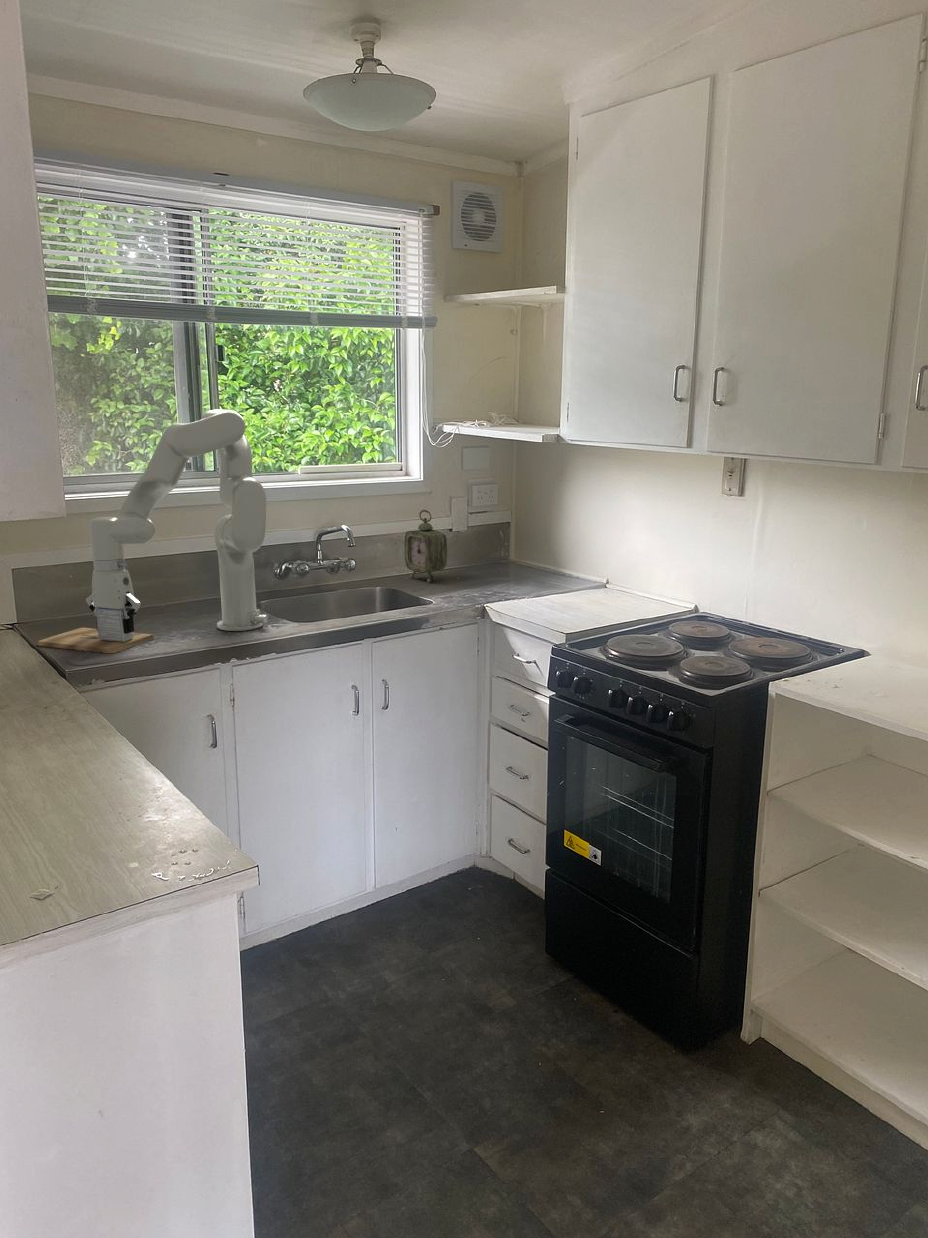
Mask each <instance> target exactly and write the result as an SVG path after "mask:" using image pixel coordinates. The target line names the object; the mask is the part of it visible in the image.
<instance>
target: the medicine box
mask: <svg viewBox="0 0 928 1238" xmlns="http://www.w3.org/2000/svg"><path fill="white" fill-rule="evenodd" d="M126 611H127V613H128V609H126ZM96 618H97V624H96V628H97V627H98V637H99V640H108V641H119V642H125V641H128V640H130V639H133V638H134V636H133V633H134V631H133V632H131V633H128V634H125V633H124V627H123V619H124V618H125V617H124V616H123V613H122V610H116V609H105V608H96V616H95V619H96Z"/></svg>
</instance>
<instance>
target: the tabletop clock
mask: <svg viewBox="0 0 928 1238" xmlns="http://www.w3.org/2000/svg"><path fill="white" fill-rule="evenodd" d="M424 512H425V513H427V514H428V515H429V519H428V518H427V517H424V518H423V517H422V513H424ZM418 515H419V519H420V520H421V521H422V523H420V524H419V525H418V528H417V529H415V530H414V529H413V530H408V531H406V532H405V536H404V561H405V567H406V568H407V569H409V570H411V571H412V572H413V573H411V574H409V578H410V579H415V574H416V573H421V574H423V573H428V578H427V579H426V582H427V584H430V583H432V581H433V579H434V575H433V574H432V572H439V571H442V570H444V569H445V568H446V567H447V565H448V563H447V562H448V540H447V536H446V535H445V534H444V533H442V532H441V531H439V530H436V529H434V528H433V526H432V524H431V523H430V522H431V520H432V513H431V512H430V511H429V510H427V509H422V510H420V512H419V514H418Z"/></svg>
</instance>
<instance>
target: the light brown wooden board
mask: <svg viewBox="0 0 928 1238" xmlns="http://www.w3.org/2000/svg"><path fill="white" fill-rule="evenodd" d="M133 636H134V638H133V639H130V640H128V641H125V642H119V641H108V640H99V637H98V631H97V628H92V627H84V626H83V627H79V628H74V629H72V630H68V631H66V632H62V633H59V634H56V635H52V636H50V637H46V638H43V639H41V640H37V646H39V647H46V648H55V649H65V650H73V649H74V650H75V651H82V650H83V651H82V652H91V651H93V653H100V652H103V653H102V654H109V653H114V654H116V652H117V653H119V652H122V651H125V650H128V649H130V648H133V647H135V646H138V645H141V644H144V643H147V642H149V641H152V640H154V638H155V637H154V634H151V633H150V634H149V633H141V632H133ZM118 651H119V652H118Z"/></svg>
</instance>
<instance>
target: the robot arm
mask: <svg viewBox="0 0 928 1238" xmlns="http://www.w3.org/2000/svg"><path fill="white" fill-rule="evenodd" d="M245 432H246V422H245V420H244V418H243V416H242V415H240V413H238V412H236V411H234V410H231V409H211V410H208V411H206V412H205V413H204V414H203V415H202V417H201V419H200V420H196V421H193V422H190V423H189V422H188V423H179V422H177V423H173V424H172V423H171V424H170V425H169V426H168V427H166V429H165V430H164V431H163V433H162V435H161V437H160V439H159V441H158V444H157V446H156V447H155V450H154V451H153V453H152V455H151V458H150V460H149V461H148V464H147V466H146V468H145V470H144V472H143V474H142V475H140V477H139V479H138V480H137V482H136V483H135V484H134V485H133V487H132V489H131V490H130V491H129V492H128V494H127V496H126V498H125V499H124V502H123V503H122V505H121V508H120V510H119V512H118V514H117V516H116V517H115V516H99V517H95V518H92V519H91V520H90V522H89V530H90V539H91V541H90V542H91V551H92V559H93V560H92V562H93V570H92V577H91V594H90V595H88V597H86V598H85V602H86V603H87V605H88V606H89V609H90V610H91V612H92V614H93V616H94V617H95V623H96V625H97V618H96V608H105V609H116V610H122V613H123V616H124V617H125V618H124V619H123V627H124V633H125V634H128V633H131V632H133V633H134V632H135V623H134V617H135V616H136V614H137V612H138V611H139V609H140V606H141V605H142V604H141V602H140V601H139V599H137V598H136V597H135V594H134V587H133V583H132V579H131V575H130V572H129V569H126V568H127V567H128V562H127V561H125V552H124V545H141V546H142V545H146V544H147V543H149V542H151V541H152V540H153V539H154V537H155V535H156V526H155V524H154V522H153V521H152V520H151V519H150V518H149V516H150V515H151V513H152V511H153V509H154V508H155V506H156V505H157V503H158V502H159V501H160V500H161V499H163V498H164V497H165V496H166V495H168V494H170V493H171V492H173V490H174V489H175V488H176V487H177V485H178V483H179V480H180V479H181V476H182V474H183V472H184V470H185V468H186V466H187V465H188V462H189V460H190V458H194V457H199V456H203V455H207V454H208V453H211V452H214V451H218V454H219V461H220V463H219V465H220V469H219V470H220V472H219V473H220V474H219V492H218V493H219V499H220V502H221V503H222V504H223V506H224V507H226V508H228V509H230V510H231V514H227V515H224V516H223V517H221V518H220V519H218V521H217V522H216V524H215V527H214V542H215V546H216V547H215V548H216V552H217V559H218V570H219V586H220V588H219V589H220V590H219V591H220V602H221V603H220V605H221V620H219V621H218V622H217V623H216V627H217V629H219V630H221V631H227V632H243V631H250V630H251V631H252V630H256V629H258V628H261V627H262V626H263V624H266V623H268V619H269V618H268V617H269V616H268V615H267V614H261V609H257V597H256V596H257V595H256V582H255V578H256V577H255V563H254V562H255V561H254V556H253V553H254V552H257V551H258V550H259V549H260V548H261V547H262V545H263V543H264V540H265V537H266V524H267V521H266V520H267V496H266V495H267V494H266V490H265V489H264V486H263V484H262V483H260V481H259V480H257V479H255V478H253V453H252V449H251V445H250V441H248V438H247V436H246V435H245ZM126 609H128V613H127V611H126ZM96 629H97V631H98V627H97V626H96Z"/></svg>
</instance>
